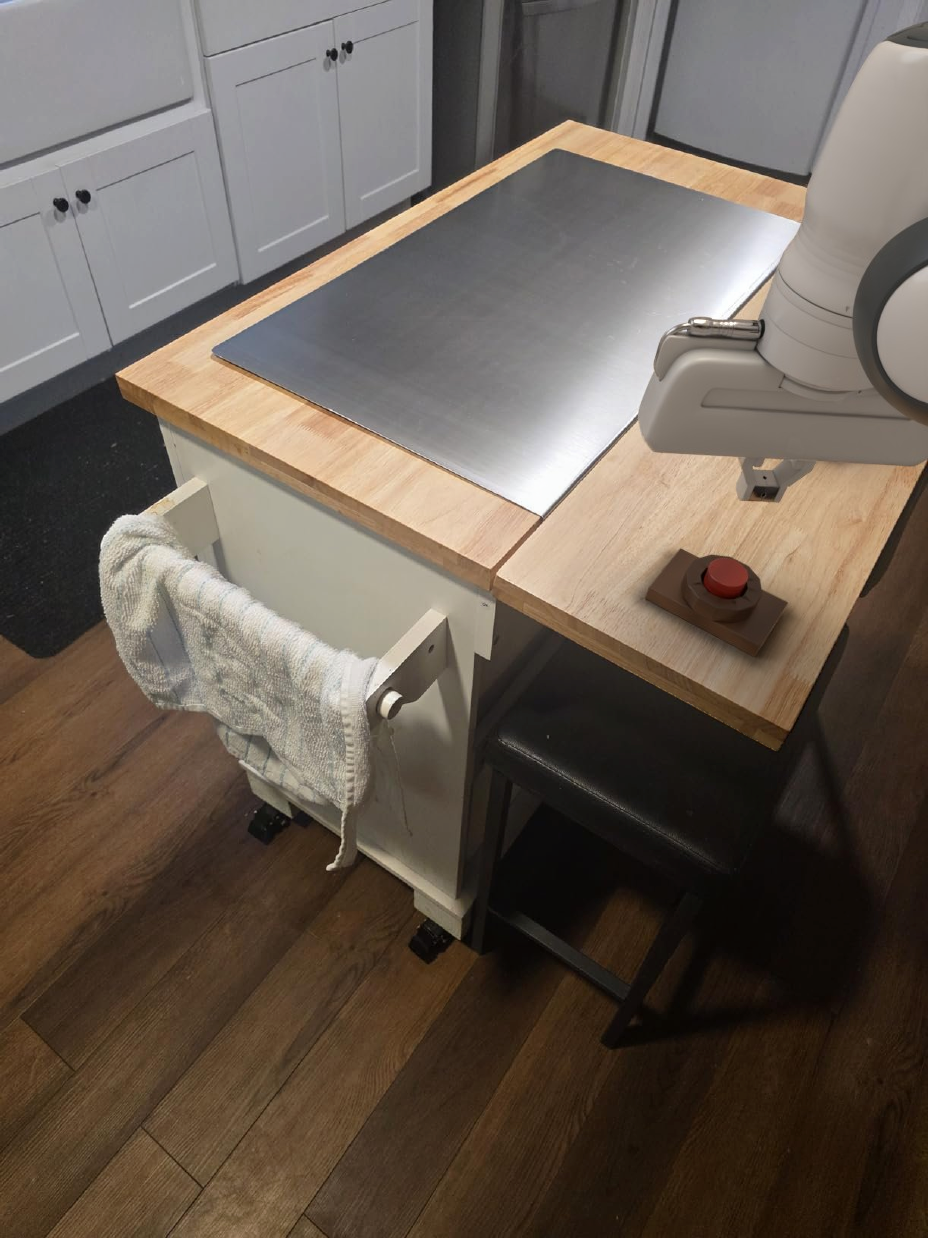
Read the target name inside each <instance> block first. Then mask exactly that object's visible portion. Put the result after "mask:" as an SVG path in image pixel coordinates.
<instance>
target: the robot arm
mask: <svg viewBox="0 0 928 1238" xmlns="http://www.w3.org/2000/svg"><path fill="white" fill-rule="evenodd" d="M803 209H804V210H803V215H802V219H801V222H800V225H799V227H798V229H797V231H796V233H795V235H794V236H793V238H792V239H791V240H790V242H789V243H788V245H787V246H786V247H785V249H784V250H783V252H782V254H781V257H780V259H779V261H778V265H777V266H776V269H775V271H774V275H773V276H772V280H771V283H770V285H769V288H768V290H767V293H766V296H765V298H764V301H763V304H762V307H761V309H760V312H759V314H758V318H757V319H742V318H728V319H716V318H712V317H709V316H692V317H690V318H689V319H688V321H687V322H683V323H679V324H677V325H675V326H673V327H671V328H670V329H669V330H666V331H665V332H664V333H663V334H662V335H661V337H660V340H659V341H658V346H657V349H656V353H655V355H654V359H653V372H652V374H651V377H650V379H649V381H648V384H647V385H646V388H645V391H644V393H643V396H642V399H641V401H640V404H639V406H638V412H637V421H638V426H639V431H640V434H641V437H642V439H643V441H644V443H645V444H646V445H647V447H648V449H649V450H650V451H651V452H653V453H656V454H657V453H658V454H673V455H674V454H675V455H690V456H691V455H692V456H693V455H694V456H708V457H709V456H710V457H711V456H712V457H727V458H728V457H729V458H731V457H732V458H737V460H738V463H739V467H740V470H741V471H740V474H739V476H738V479H737V481H736V484H735V492H736V495H737V498H738V501H739V502H755V503H756V502H758V503H759V502H763V503H775V504H776V503H777V504H779V503H780V502H781V501H782V499H783V497H784V495H785V493H786V490H787V489H788V487H789V488H790V487H791V486H792V485H794V484H796V482H798V481H800V480H802V478H804V477H805V476H807V475H808V474H809V473H811V472H812V471H813V470H814V467H815V466H816V463H817V462H820V463H821V462H822V463H838V464H839V463H841V464H842V463H843V464H860V465H876V466H877V465H879V466H893V467H894V466H897V467H916V466H918V465H920V464H923V463H924V462H925V461H927V460H928V20H926V21H923V22H919V23H916V24H912V25H910V26H906V27H905V28H901V29H899V30H898V31H896V32H894V33H892V34H890V35H888V36H886V38H885V39H884V40H881V42H879V43H877V44H876V45H875V47H874V48H873V49H872V51H870V53H869V54H868V56H867V58H866V59H865V60H864V61H863V64H862V66H861V67H860V69H859V70H858V72H857V74H856V75H855V78H854V79H853V81H852V83H851V85H850V87H849V89H848V91H847V93H846V95H845V96H844V99H843V100H842V103H841V105H840V107H839V109H838V111H837V113H836V116H835V118H834V120H833V122H832V124H831V127H830V129H829V132H828V134H827V136H826V138H825V140H824V144H823V146H822V147H821V150H820V152H819V156H818V157H817V161H816V163H815V166H814V168H813V171H812V174H811V177H810V178H809V181H808V184H807V187H806V191H805V197H804V208H803ZM766 460H781V461H780V462H779V463H778V464H777V465H776V466H775V467H774V468H773V469H755V468H762V466H763V464H764V462H765V461H766Z"/></svg>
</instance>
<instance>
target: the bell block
mask: <svg viewBox="0 0 928 1238" xmlns="http://www.w3.org/2000/svg"><path fill="white" fill-rule="evenodd" d="M719 558H728V559H732V560H735V561H737V562H739V563H740V564H741V565H743V566H744V567H745V569H746V570H747V573H748V580H747V582H746V584H745V587H744V589H743V591H742V593H741V594H740V595H739V596H738V597H736V598H733V599H723V598H719V597H717V596H715V595H713V594H712V593H710V592H709V591H708V590H707V589H706V587H705V585H704V577H705V574H706V572H707V569H708V567H709V565H710V563H711V562H712V561H714V560H716V559H719ZM644 598H645V600H648V602H651V603H653V604H655V605H657V606H658V607H660V608H662V609H664V610H666V611H668V612H669V613H672V614H673V615H675V616H677V617H679V618H681V619H682V620H685V621H686V622H688V623H691V624H692V625H693V626H696V627H698V628H699V629H701V630H704V632H705V631H706V632H707V633H709V634H710V635H713V636H715V637H717V638H718V639H721V640H722V641H724V642H726V643H728V644H730V645H732V646H734V647H735V648H737V649H739V650H741V651H743V652H744V653H747V654H748V655H750V656H752V657H756V656H757V654H758V653H759V651H760V650H761V648H762V646H763V645H764V644H765V642H766V640H767V639H768V637H769V636H770V634H771V633H772V631H773V629H774V628H775V626H776V624H777V623H778V622H779V620H780V618H781V617H782V615H783V613H784V612H785V610H786V607H787V606H788V604H789V602H788V601H786V600H784V599H782V598H780V597H778V596H777V595H774V594H772V593H770V592H768V591H767V590H764V589H762V583H761V578H760V577H759V576H758V575H757V573H756V572H754V570H753V569H752V568H751V567H750V566H749V565H748V564H746V563H744V562H741V561H740V560H738V559H736V558H734V557H732V556H729V555H728V556H727V555H720V554H719V555H718V554H708V555H704V556H702V557H699V556H697V555H695V554H693V553H691V552H689V551H688V550H686V549H683V548H681V547H680V548H679V549H678V550H677V552H676V553H675V554H674V555H673V557H672V558H671V559H670V560H669V561H668V563H667V564H666V565H665V566H664V567H663V569H662V570H661V571H660V573H659V574H658V575H657V576H656V578H655V579H654V580H653V582H652V583H651V584H650V585H649V587H648V589H647V592H646V594H645V597H644Z"/></svg>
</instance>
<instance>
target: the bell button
mask: <svg viewBox="0 0 928 1238" xmlns="http://www.w3.org/2000/svg"><path fill="white" fill-rule="evenodd" d="M747 580H748V573H747V570H746V569H745V567H744V566H743V565H741V564H740V563H739V562H737V561H735V560H732V559H728V558H719V559H716V560H714V561H712V562H711V563H710V565H709V567H708V569H707V572H706V574H705V577H704V585H705V587H706V589H707V590H708V591H709V592H710V593H712V594H713V595H715V596H717V597H719V598H723V599H733V598H736V597H738V596H739V595H740V594H741V593H742V591H743V589H744V587H745V584H746V582H747Z"/></svg>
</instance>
